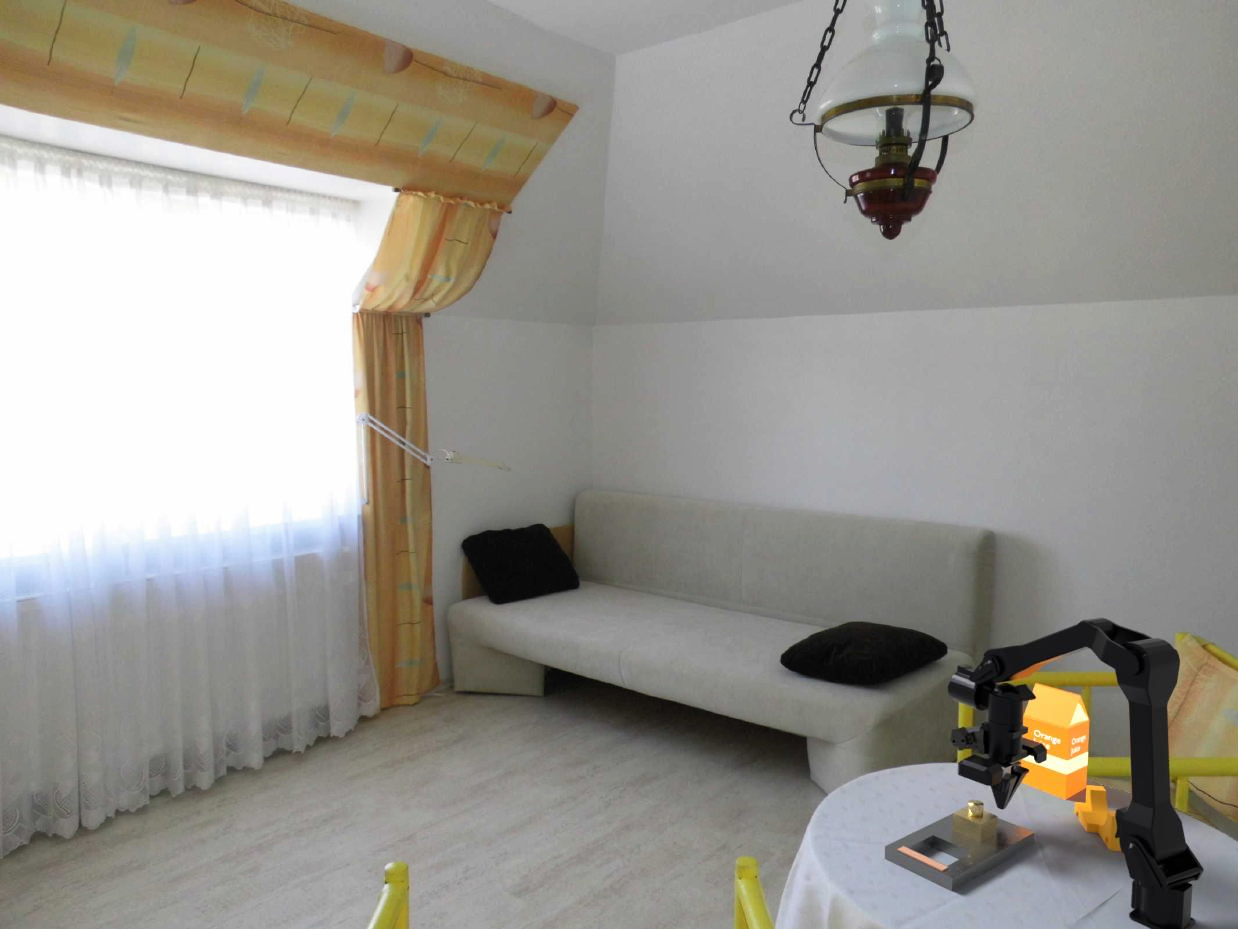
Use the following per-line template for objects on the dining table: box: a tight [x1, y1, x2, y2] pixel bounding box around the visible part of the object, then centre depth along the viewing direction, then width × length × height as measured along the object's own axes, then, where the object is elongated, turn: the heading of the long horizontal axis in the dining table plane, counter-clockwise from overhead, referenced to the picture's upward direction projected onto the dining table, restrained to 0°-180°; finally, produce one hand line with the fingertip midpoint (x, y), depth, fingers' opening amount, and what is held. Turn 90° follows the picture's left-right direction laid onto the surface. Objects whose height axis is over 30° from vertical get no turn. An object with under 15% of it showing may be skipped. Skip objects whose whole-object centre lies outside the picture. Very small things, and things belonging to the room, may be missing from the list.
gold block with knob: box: [952, 799, 999, 842], centre depth 150 cm, size 5×5×5 cm
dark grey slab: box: [884, 813, 1035, 892], centre depth 148 cm, size 12×24×2 cm, turn 128°
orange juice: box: [1020, 682, 1091, 801], centre depth 169 cm, size 8×9×20 cm
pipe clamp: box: [1073, 784, 1122, 852], centre depth 153 cm, size 12×4×6 cm, turn 171°
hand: (1001, 808), depth 155 cm, fingers closed
